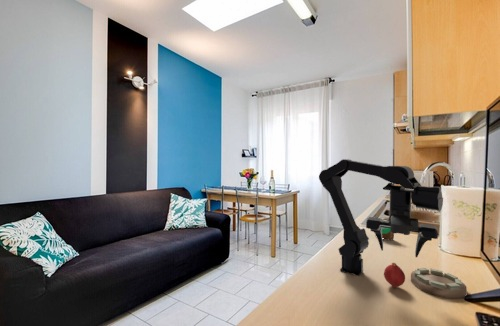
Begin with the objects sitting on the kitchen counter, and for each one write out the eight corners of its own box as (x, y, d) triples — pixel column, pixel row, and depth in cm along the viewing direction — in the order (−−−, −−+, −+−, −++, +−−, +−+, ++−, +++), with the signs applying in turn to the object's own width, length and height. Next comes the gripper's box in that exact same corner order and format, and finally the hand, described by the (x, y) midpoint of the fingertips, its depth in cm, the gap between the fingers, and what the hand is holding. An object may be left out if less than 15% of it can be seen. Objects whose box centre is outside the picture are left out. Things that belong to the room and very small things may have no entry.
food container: (367, 234, 130) (367, 216, 130) (376, 233, 131) (376, 216, 131) (386, 242, 118) (386, 222, 118) (396, 240, 120) (396, 221, 120)
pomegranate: (385, 280, 79) (385, 257, 79) (406, 286, 75) (406, 261, 75) (382, 287, 74) (382, 262, 74) (403, 294, 71) (403, 268, 71)
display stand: (409, 288, 74) (409, 278, 74) (411, 272, 85) (411, 263, 85) (469, 304, 66) (469, 293, 66) (463, 284, 77) (463, 274, 77)
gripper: (365, 205, 72) (363, 255, 73) (442, 214, 63) (440, 271, 63) (368, 200, 82) (367, 244, 82) (435, 207, 72) (433, 257, 72)
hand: (398, 253), depth 75 cm, fingers open, 9 cm apart
